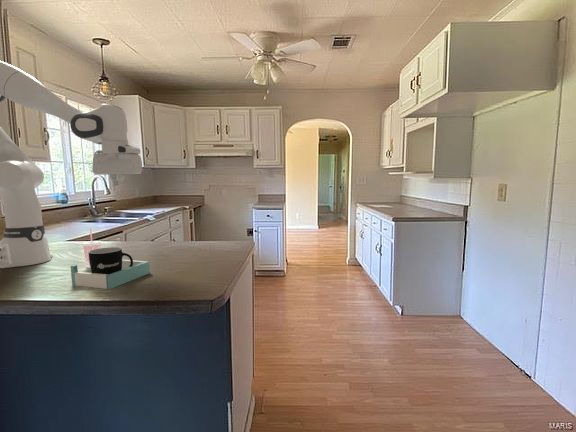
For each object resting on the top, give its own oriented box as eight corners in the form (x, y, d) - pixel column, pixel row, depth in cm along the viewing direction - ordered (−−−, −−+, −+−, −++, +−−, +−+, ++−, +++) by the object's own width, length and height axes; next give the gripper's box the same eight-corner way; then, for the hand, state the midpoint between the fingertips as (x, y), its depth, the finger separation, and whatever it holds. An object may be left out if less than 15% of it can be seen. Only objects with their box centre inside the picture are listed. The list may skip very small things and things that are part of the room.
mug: (92, 288, 95) (90, 254, 94) (89, 281, 102) (86, 249, 101) (137, 281, 102) (135, 249, 101) (130, 274, 109) (129, 244, 108)
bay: (72, 285, 98) (70, 265, 98) (116, 270, 115) (115, 253, 114) (109, 289, 94) (107, 269, 94) (150, 273, 111) (149, 255, 110)
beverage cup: (85, 269, 116) (82, 230, 115) (82, 266, 121) (79, 228, 119) (104, 266, 120) (101, 228, 119) (100, 263, 125) (98, 227, 123)
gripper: (86, 149, 122) (89, 187, 123) (131, 147, 116) (134, 186, 118) (100, 151, 128) (103, 186, 129) (144, 149, 122) (146, 186, 124)
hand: (118, 186), depth 123 cm, fingers closed
